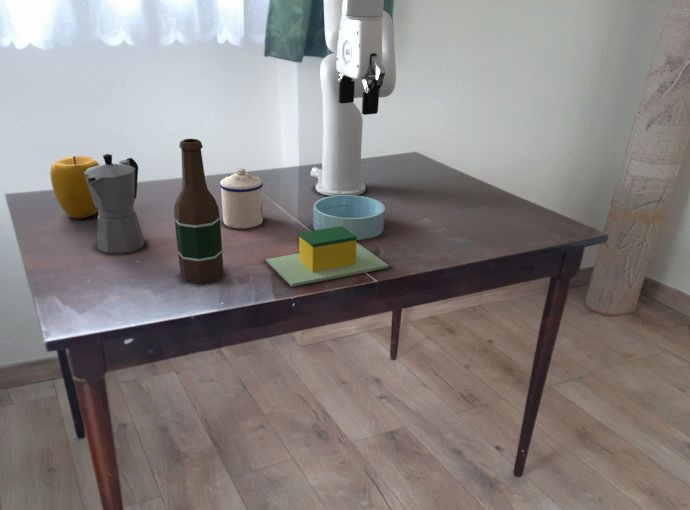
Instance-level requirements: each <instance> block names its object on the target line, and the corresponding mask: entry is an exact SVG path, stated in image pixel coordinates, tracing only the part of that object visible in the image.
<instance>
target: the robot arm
mask: <svg viewBox="0 0 690 510" xmlns="http://www.w3.org/2000/svg"><path fill="white" fill-rule="evenodd" d="M384 3H385V0H323V21H324V22H323V23H324V39H325V44H326V47H327V48H328V50H329V51H330V52H332V53H330V54H328V55H326V56H325V57H323V59H322V61H321V62H320V66H319V79H320V87H321V88H320V89H321V98H322V150H321V151H322V153H321V155H322V157H321V158H322V159H321V168H319V167H315V166H314V167H312V168H311V171H310V173H309V176H310V178H314V179H315V178H317V182H316V183H315V190H316V192H318V193H319V194H322V195H324V196H327V197H330V196H337V195H355V196H360V195H362V194H364V193H365V192H366V188H367V187H366V185H365V183H364V182H362V181H361V163H362V141H363V125H364V124H363V123H364V121H363V115H364V116H367V115H376V114H378V112H379V98H387V97H390V95H392V94H393V92H394V90H395V87H396V83H397V82H396V81H397V65H396V47H395V46H396V45H395V31H394V29H395V28H394V22H393V18H392V17H391V15H390V13H388V12H387V11H386V10H384ZM359 98H362V101H361V110H360V108H359V107H358V106H357V105H356V103H355V102H354V101H355V99H359Z"/></svg>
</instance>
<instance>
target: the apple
mask: <svg viewBox="0 0 690 510" xmlns="http://www.w3.org/2000/svg"><path fill="white" fill-rule="evenodd" d="M99 165H100V163H99V162H97V161H96V160H95V159H93V158H92V157H89V156H85V155H77V156H75V155H74V156H67V157H63V158H61V159H59V160H56V161H55V162H53V163H52V164H51V165H50V171H49V175H50V176H49V177H50V183H51V186H52V190H53V194H54V196H55V199H56V201H57V202H58V204H59V206H60V207H61V209H62V210H63V211H64V212H65V214H66V215H67V216H68V217H70V218H72V219H78V220H79V219H85V218H88V217H91V216H92V215H95V214H96V213H97V212H98V208H97V207H95V206H94V203H93V200H92V197H91V194H90V191H89V188H88V185H87V182H86V179H85V176H84V173H85V171H86V170H87V169H88V168H90V167H95V166H99Z"/></svg>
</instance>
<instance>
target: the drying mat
mask: <svg viewBox="0 0 690 510" xmlns="http://www.w3.org/2000/svg"><path fill="white" fill-rule="evenodd" d="M266 263H267V264H268V265H269V266H270V267H271V268H272V269H273V270H274V271H275V272H276V273H277V274H278V275H279V276H280V277H281V278H282V279H283V280H284V281H285V282H287V284H288V285H290V287H298V286H303V285H307V284H313V283H318V282H324V281H328V280H335V279H339V278H343V277H349V276H354V275H359V274H364V273H370V272H374V271H380V270H385V269H389V267H390V266H389V264H388V263H386V262H385V261H384V260H382V259H381V258H380V257H378V256H377V255H375V254H374V253H373V252H371V251H370V250H369V249H367V248H366V247H364V246H363V245H361V243H359V242H356V262H355V264H353V265H347V266H342V267H337V268H332V269H326V270H321V271H316V272H312V271H311V270H310V269H309V268H308V267H306V266H305V265H304V264H303V263H302V262H301V261H300V260H299V252H298V253H293V254H286V255H282V256H276V257H269V258H266Z"/></svg>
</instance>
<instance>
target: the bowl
mask: <svg viewBox="0 0 690 510" xmlns="http://www.w3.org/2000/svg"><path fill="white" fill-rule="evenodd" d="M385 218H386V206H385V205H384V203H382V202H381V201H379V200H377V199H374V198H372V197H367V196H364V195H363V196H362V195H337V196H326V197H321V198H320V199H318V200H316V201H315V202H314V203H313V207H312V228H313V231H315V230H321V229H327V228H333V227H340V226H342V227H344V228H345V229H347V230H348V231H349V232H351V233H352V234H354V235H355V236H356V237H357V241H360V240H361V241H363V240H368V239H372V238H375V237H378V236H379V235H381V234H382V233H383V232H384V230H385Z"/></svg>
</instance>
